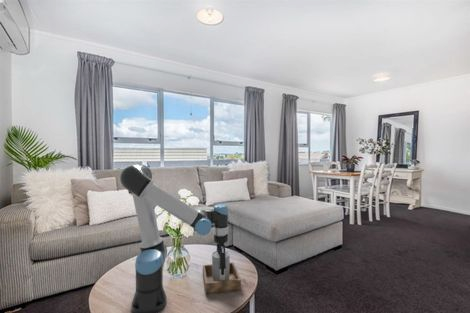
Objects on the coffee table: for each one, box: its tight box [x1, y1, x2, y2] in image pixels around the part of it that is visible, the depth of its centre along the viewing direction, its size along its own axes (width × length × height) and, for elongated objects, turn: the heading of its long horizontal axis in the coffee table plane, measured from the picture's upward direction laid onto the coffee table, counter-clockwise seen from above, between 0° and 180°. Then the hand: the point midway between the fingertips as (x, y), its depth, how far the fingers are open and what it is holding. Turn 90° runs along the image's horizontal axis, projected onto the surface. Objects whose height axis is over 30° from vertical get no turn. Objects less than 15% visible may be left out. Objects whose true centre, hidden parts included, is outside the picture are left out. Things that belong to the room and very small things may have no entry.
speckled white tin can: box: [211, 250, 231, 281], centre depth 127 cm, size 10×10×12 cm
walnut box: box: [202, 261, 242, 295], centre depth 127 cm, size 18×19×6 cm
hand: (220, 274), depth 127 cm, fingers closed on speckled white tin can, 9 cm apart
